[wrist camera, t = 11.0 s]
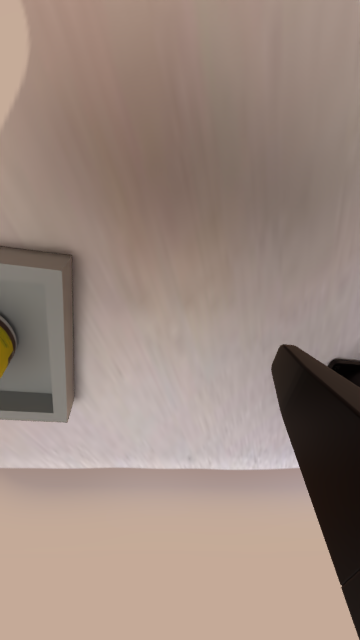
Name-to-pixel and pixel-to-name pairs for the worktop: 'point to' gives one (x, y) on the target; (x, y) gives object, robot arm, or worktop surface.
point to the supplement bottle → (6, 345)
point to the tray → (37, 335)
